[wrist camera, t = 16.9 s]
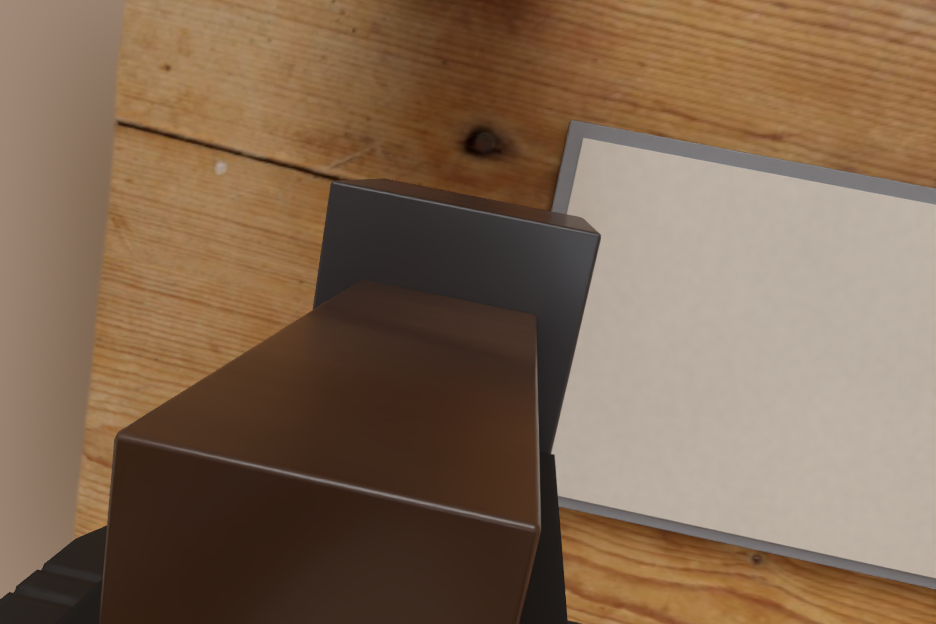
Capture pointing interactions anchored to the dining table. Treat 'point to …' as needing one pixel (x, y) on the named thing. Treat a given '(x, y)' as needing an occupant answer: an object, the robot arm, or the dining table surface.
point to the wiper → (365, 430)
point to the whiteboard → (753, 353)
